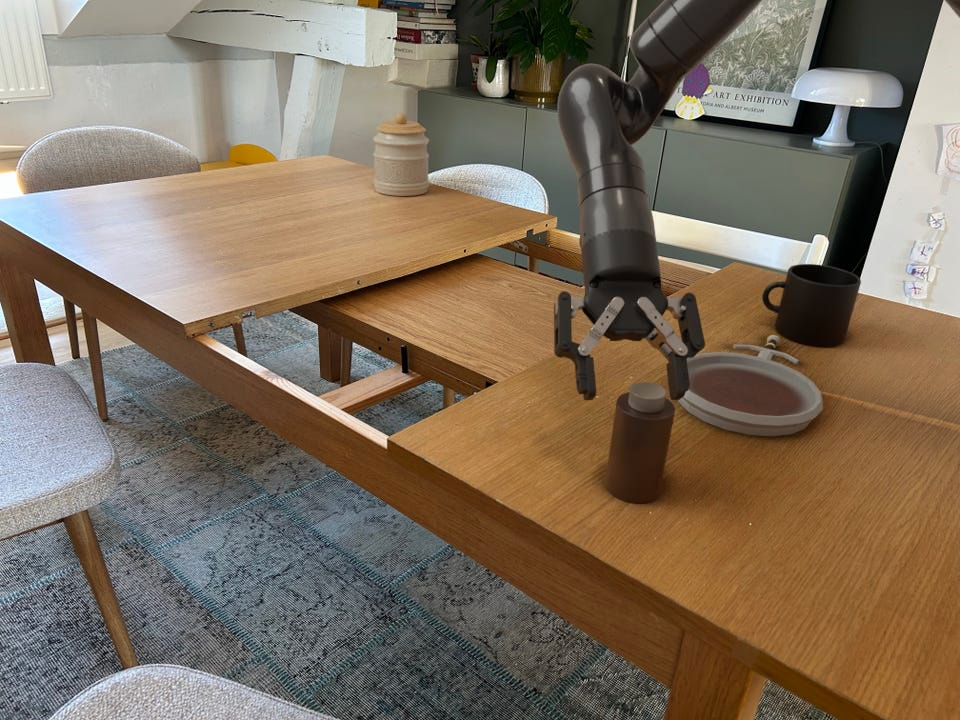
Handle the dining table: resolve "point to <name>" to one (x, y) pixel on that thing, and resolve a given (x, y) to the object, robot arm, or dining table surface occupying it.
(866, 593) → the dining table surface
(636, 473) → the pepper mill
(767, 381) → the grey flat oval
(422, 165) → the jar
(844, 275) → the mug
